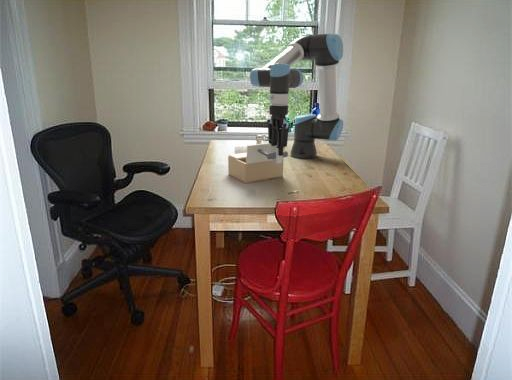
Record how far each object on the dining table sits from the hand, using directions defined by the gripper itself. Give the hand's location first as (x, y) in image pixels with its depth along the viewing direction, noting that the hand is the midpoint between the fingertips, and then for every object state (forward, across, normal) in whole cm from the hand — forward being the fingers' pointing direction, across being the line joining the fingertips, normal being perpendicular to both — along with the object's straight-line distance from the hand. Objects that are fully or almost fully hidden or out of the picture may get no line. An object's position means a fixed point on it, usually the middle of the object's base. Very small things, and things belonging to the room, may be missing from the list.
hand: (276, 161), depth 151 cm
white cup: (+11, -34, +2) cm, 35 cm away
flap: (-2, -9, 0) cm, 9 cm away
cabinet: (+11, -18, 0) cm, 21 cm away
